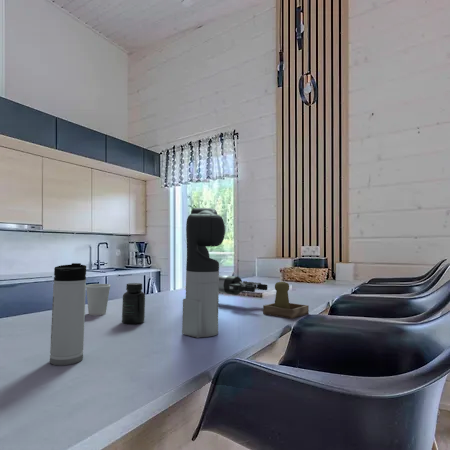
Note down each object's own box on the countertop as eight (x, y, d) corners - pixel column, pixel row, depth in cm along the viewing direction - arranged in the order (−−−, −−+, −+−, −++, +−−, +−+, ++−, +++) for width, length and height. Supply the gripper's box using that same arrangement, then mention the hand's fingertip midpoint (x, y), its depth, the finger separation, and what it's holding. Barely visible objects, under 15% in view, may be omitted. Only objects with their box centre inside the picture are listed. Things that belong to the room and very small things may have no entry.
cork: (289, 311, 125) (289, 281, 126) (291, 314, 119) (291, 283, 120) (273, 310, 126) (273, 280, 126) (273, 313, 120) (273, 282, 120)
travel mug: (88, 355, 74) (91, 263, 75) (75, 365, 67) (80, 265, 69) (58, 355, 74) (63, 263, 75) (43, 365, 67) (48, 264, 68)
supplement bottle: (133, 319, 111) (134, 282, 112) (149, 321, 107) (150, 283, 108) (117, 322, 105) (118, 283, 106) (132, 325, 101) (134, 285, 102)
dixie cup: (79, 315, 115) (80, 285, 116) (94, 310, 123) (95, 283, 124) (100, 316, 113) (101, 286, 114) (114, 312, 121) (115, 284, 122)
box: (292, 318, 115) (292, 309, 115) (263, 313, 122) (263, 305, 123) (308, 313, 124) (308, 305, 124) (280, 309, 132) (280, 301, 132)
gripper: (217, 276, 136) (250, 279, 126) (239, 274, 147) (271, 277, 136) (217, 295, 136) (250, 300, 125) (239, 292, 146) (270, 296, 136)
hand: (260, 288), depth 131 cm, fingers open, 8 cm apart
